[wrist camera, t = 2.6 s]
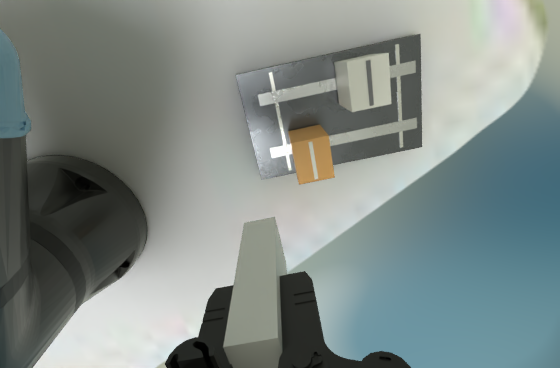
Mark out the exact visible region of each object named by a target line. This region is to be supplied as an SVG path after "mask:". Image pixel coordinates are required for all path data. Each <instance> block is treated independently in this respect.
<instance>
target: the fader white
mask: <svg viewBox="0 0 560 368" xmlns="http://www.w3.org/2000/svg"><path fill="white" fill-rule="evenodd" d="M334 65H335V74H336V82H337V90H338V98H339V105H341V106H342V107H344V108H346V109H347V110H349V111H351V112H356V111H360V110H365V109H370V108H375V107H379V106H384V105H389V104H391V86H390V67H389V53H380V54H369V55H364V56H360V57H355V58H351V59H346V60H342V61H337V62H334Z"/></svg>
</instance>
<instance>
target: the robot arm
mask: <svg viewBox="0 0 560 368" xmlns="http://www.w3.org/2000/svg"><path fill="white" fill-rule="evenodd" d="M30 130H31V120H30V119H29V117H28V115H27V113H26V112H25V107H24V98H23V88H22V79H21V69H20V61H19V57H18V54H17V51H16V49H15V47H14V45H13V43H12V42H11V40H10V39H9V38H8V36H7V35H6V34H5V33H4V32H3V31H2V30H1V29H0V368H33V366H34V365H35V364H36V363H37V361H38V360H39V359H40V357H41V356H42V355H43V353H44V352H45V351H46V350H47V348H48V347H49V346H50V344H51V343H52V342H53V340H54V339H55V338H56V337H57V335H58V334H59V333H60V331H61V330H62V329H63V327H64V326H65V325H66V323H67V322H68V321H69V320H70V318H71V317H72V316H73V314H74V313H75V312H76V311H77V309H78V308H79V307H80V306H81V304H83V303H84V302H86V301H87V300H89V299H90V298H92V297H93V296H95V295H96V294H98V293H99V292H101V291H102V290H104V289H105V288H107V287H108V286H110V285H111V284H113V283H114V282H115V281H117V280H118V279H120V278H121V277H122V276H124V275H125V274H126V273H127V272H128V271H129V269H130V268H131V267H132V266H133V264H134V263H135V261H136V260H137V258H138V257H139V255H140V254H141V252H142V250H143V248H144V246H145V242H146V237H147V225H146V219H145V216H144V212H143V210H142V208H141V206H140V204H139V202H138V200H137V199H136V197H135V196H134V194H133V193H132V192H131V190H130V189H129V188H128V187H127V186H126V185H125V184H124V183H123V182H122V181H121V180H120V179H118V178H117V177H116V176H115V175H113V174H112V173H110V172H109V171H107V170H106V169H104V168H102V167H100V166H98V165H96V164H94V163H91V162H89V161H86V160H83V159H79V158H75V157H70V156H62V155H50V156H42V157H37V158H34V159H31V160H28V161H27V151H26V134H27V133H28V132H29V131H30ZM165 365H166V367H167V368H411V367H410V366H409V365H408V364H407V363H406V362H405V361H404V360H403V359H402V358H401V357H399V356H397V355H395V354H393V353H389V352H383V351H379V352H374V353H370V354H369V355H368V356H366V357H365V358H363V360H362V361H356V360H350V359H346V358H342V357H340V356H338V355H336V354H334V353H333V352H332V351H331V350H330V349H329V348H328V347H327V346H326V344H325V342H324V338H323V332H322V327H321V322H320V317H319V312H318V306H317V302H316V297H315V292H314V287H313V282H312V279H311V278H310V277H309V276H308V274H307V273H306V272H305V271H304V272H299V273H293V274H288V275H287V270H286V261H285V257H284V253H283V249H282V244H281V240H280V236H279V232H278V228H277V224H276V220H275V217H272V218H267V219H262V220H257V221H252V222H247V223H244V227H243V233H242V239H241V244H240V250H239V256H238V262H237V268H236V274H235V280H234V285H233V286H227V287H222V288H217V289H215V291H214V292H213V294H212V295H211V296H210V298H209V299H208V302H207V306H206V310H205V314H204V317H203V323H202V325H201V329H200V332H199V336H198V338H197V337H195V338H192V339H189V340H186V341H185V342H183V343H182V344H180V345H179V346H177V347H176V348H175V349H174V350H173V352H172V353H171V354H170V355H169V357H168V359H167V361H166V363H165Z"/></svg>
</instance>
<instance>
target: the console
mask: <svg viewBox="0 0 560 368" xmlns="http://www.w3.org/2000/svg"><path fill="white" fill-rule="evenodd" d="M380 53H389V67H390V86H391V104H389V105H384V106H379V107H375V108H370V109H365V110H360V111H356V112H351V111H349V110H347V109H346V108H344V107H342V106H341V105H339V98H338V90H337V82H336V74H335V65H334V62H337V61H342V60H346V59H351V58H355V57H360V56H364V55H369V54H380ZM236 79H237V83H238V87H239V91H240V95H241V99H242V103H243V107H244V111H245V115H246V119H247V123H248V127H249V131H250V135H251V139H252V143H253V147H254V151H255V155H256V159H257V163H258V167H259V171H260V175H261V179H267V178H272V177H277V176H282V175H287V174H292V173H296V170H295V165H294V160H293V155H292V150H291V145H290V140H289V135H288V131H291V130H296V129H301V128H306V127H310V126H315V125H321V127H322V128H323V129H324V130H325V132H326V133H327V134H328V135H329V141H330V148H331V155H332V162H333V165H336V164H341V163H346V162H351V161H355V160H360V159H365V158H370V157H375V156H380V155H385V154H390V153H395V152H400V151H405V150H409V149H414V148H419V147H422V110H421V42H420V34H417V35H412V36H408V37H403V38H399V39H394V40H390V41H385V42H381V43H376V44H372V45H367V46H363V47H358V48H354V49H349V50H345V51H340V52H336V53H331V54H327V55H322V56H318V57H313V58H309V59H304V60H300V61H295V62H291V63H286V64H282V65H277V66H273V67H268V68H264V69H259V70H255V71H250V72H246V73H241V74H237V75H236Z"/></svg>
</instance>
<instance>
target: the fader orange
mask: <svg viewBox="0 0 560 368" xmlns="http://www.w3.org/2000/svg"><path fill="white" fill-rule="evenodd" d="M288 135H289V140H290V145H291V150H292V155H293V160H294V165H295V170H296V174H297V178H298V182H299V184H304V183H309V182H314V181H319V180H324V179H329V178H334V177H335V176H334V169H333V162H332V155H331V148H330V141H329V135H328V134H327V133H326V132H325V130H324V129H323V128H322V127H321V125H315V126H310V127H306V128H301V129H296V130H291V131H288Z"/></svg>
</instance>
